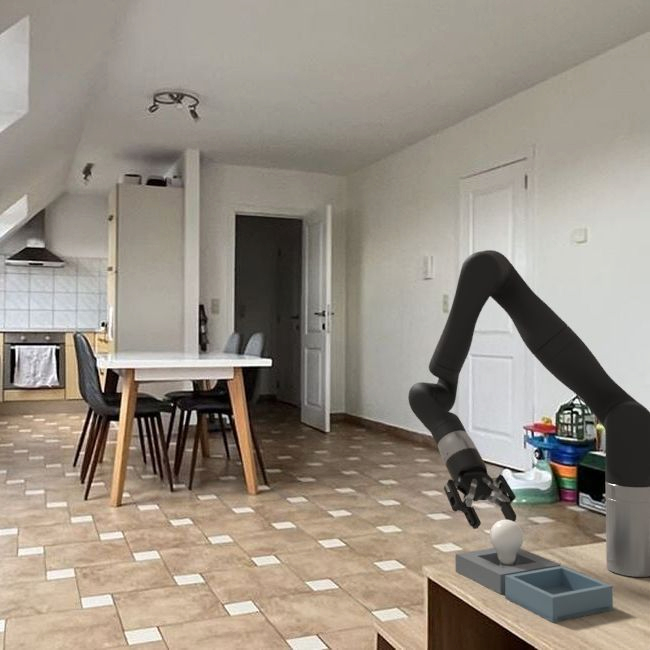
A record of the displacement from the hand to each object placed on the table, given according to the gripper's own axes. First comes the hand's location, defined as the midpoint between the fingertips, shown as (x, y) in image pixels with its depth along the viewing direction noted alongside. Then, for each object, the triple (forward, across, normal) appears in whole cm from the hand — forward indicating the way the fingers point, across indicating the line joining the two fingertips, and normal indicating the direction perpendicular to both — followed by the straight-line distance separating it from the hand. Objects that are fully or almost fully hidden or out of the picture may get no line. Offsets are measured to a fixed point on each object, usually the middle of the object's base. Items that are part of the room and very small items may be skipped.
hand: (495, 524), depth 142 cm
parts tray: (+20, -1, -6) cm, 21 cm away
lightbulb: (+9, 0, +4) cm, 10 cm away
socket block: (+9, 0, +4) cm, 10 cm away
